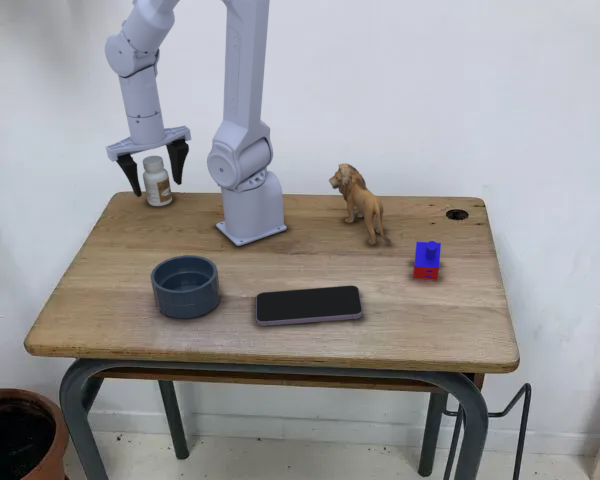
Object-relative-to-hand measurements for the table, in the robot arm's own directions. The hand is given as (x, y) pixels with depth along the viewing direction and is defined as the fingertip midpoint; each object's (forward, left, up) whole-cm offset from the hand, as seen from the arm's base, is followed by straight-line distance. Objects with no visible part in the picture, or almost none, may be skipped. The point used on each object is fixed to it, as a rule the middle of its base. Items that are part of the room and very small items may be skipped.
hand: (158, 188), depth 123 cm
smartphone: (-5, +42, -3) cm, 43 cm away
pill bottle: (0, 0, -3) cm, 3 cm away
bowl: (+9, +31, -2) cm, 32 cm away
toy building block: (-24, +45, -3) cm, 51 cm away
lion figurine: (-24, +28, -3) cm, 37 cm away
